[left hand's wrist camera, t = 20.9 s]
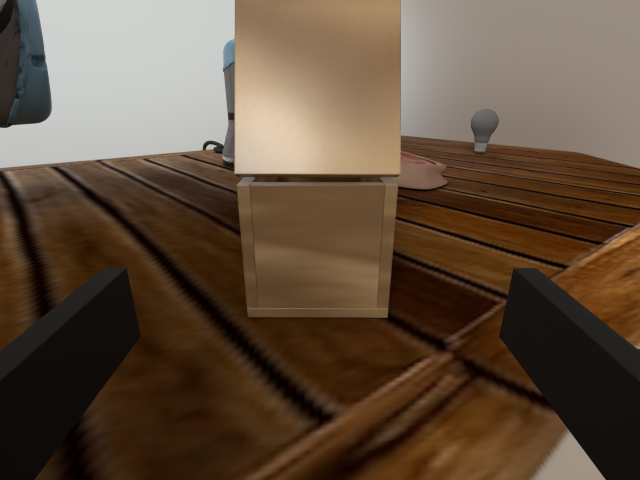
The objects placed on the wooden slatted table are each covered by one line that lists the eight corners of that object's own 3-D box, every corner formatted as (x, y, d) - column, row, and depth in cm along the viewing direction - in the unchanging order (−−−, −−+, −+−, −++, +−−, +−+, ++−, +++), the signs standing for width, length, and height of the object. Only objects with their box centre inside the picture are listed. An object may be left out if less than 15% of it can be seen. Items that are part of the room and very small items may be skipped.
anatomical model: (448, 164, 52) (368, 159, 56) (445, 192, 53) (367, 185, 57) (452, 151, 63) (386, 148, 67) (449, 174, 65) (384, 170, 69)
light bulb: (470, 154, 87) (477, 109, 83) (463, 150, 92) (469, 108, 89) (496, 154, 86) (504, 109, 83) (488, 151, 92) (495, 108, 88)
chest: (275, 235, 37) (270, 148, 34) (363, 236, 37) (367, 148, 34) (247, 317, 24) (236, 184, 20) (387, 318, 24) (398, 185, 20)
